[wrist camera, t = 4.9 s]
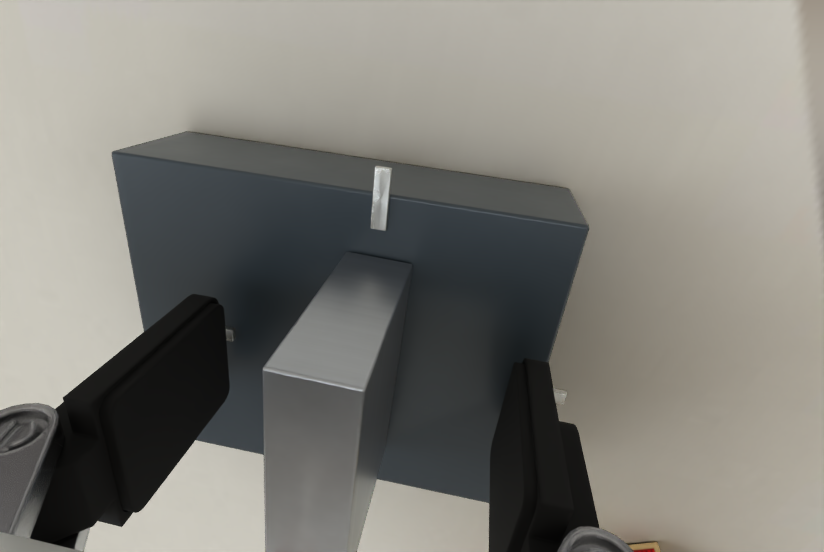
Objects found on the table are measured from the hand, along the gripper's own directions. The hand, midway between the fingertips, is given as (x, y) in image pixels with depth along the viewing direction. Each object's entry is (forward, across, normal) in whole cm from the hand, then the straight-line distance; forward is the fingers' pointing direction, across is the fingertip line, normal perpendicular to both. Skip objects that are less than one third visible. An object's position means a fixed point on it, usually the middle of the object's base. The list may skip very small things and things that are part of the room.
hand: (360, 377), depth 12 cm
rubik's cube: (+4, -10, +12) cm, 16 cm away
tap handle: (+1, 0, 0) cm, 1 cm away
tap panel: (+4, +1, 0) cm, 4 cm away
